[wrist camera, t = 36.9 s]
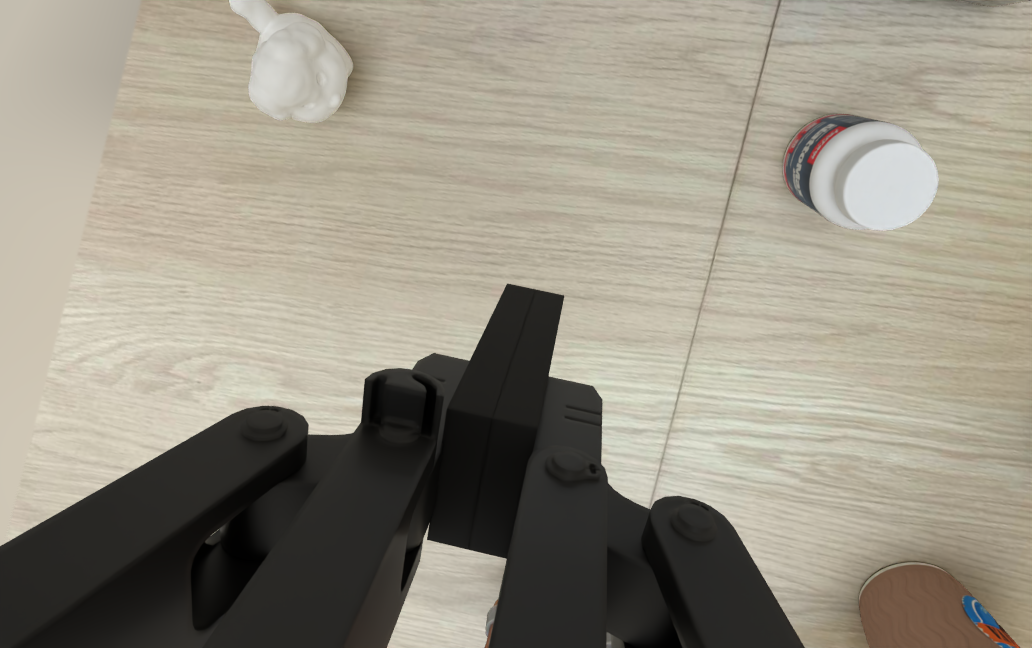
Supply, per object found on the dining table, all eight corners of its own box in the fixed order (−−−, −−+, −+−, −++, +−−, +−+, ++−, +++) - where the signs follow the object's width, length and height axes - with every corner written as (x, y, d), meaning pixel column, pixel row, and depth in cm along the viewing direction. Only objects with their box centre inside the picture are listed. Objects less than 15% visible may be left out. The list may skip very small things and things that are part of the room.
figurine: (350, 137, 40) (291, 152, 32) (240, 63, 39) (155, 60, 32) (390, 60, 38) (337, 57, 30) (275, -20, 37) (193, -43, 30)
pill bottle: (801, 103, 36) (858, 112, 27) (893, 125, 35) (978, 140, 27) (767, 195, 38) (810, 229, 29) (854, 216, 37) (922, 255, 29)
